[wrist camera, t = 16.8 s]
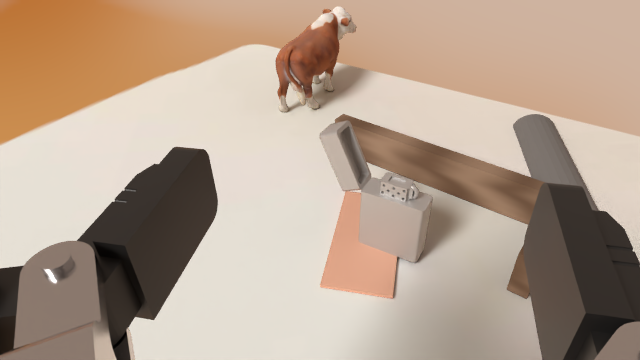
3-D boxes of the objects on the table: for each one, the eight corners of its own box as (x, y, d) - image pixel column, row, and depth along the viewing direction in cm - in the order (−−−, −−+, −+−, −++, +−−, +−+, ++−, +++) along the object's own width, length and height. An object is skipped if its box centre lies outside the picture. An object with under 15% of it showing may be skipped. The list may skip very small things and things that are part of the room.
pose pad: (403, 200, 35) (403, 198, 35) (392, 298, 28) (392, 296, 27) (345, 193, 36) (345, 191, 36) (320, 286, 28) (320, 284, 28)
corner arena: (562, 226, 33) (575, 192, 31) (526, 298, 27) (540, 263, 26) (342, 143, 42) (343, 114, 40) (284, 186, 37) (282, 154, 35)
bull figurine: (360, 76, 54) (363, 4, 49) (301, 125, 45) (298, 42, 40) (327, 69, 56) (327, -1, 51) (264, 115, 46) (257, 34, 42)
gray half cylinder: (555, 132, 44) (560, 115, 43) (633, 287, 29) (645, 267, 28) (509, 128, 45) (513, 112, 44) (561, 279, 29) (570, 259, 28)
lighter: (424, 246, 31) (443, 143, 26) (415, 263, 30) (432, 158, 25) (331, 213, 34) (332, 114, 29) (319, 227, 32) (318, 126, 28)
